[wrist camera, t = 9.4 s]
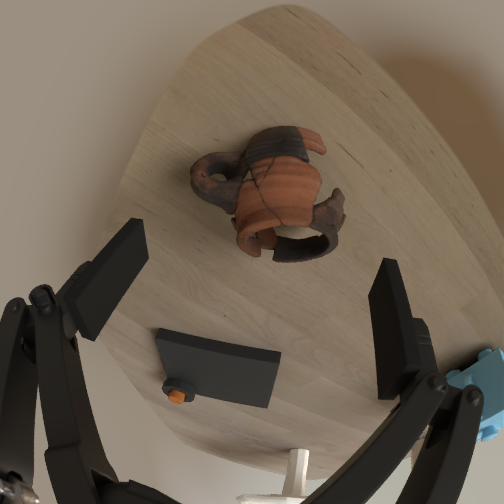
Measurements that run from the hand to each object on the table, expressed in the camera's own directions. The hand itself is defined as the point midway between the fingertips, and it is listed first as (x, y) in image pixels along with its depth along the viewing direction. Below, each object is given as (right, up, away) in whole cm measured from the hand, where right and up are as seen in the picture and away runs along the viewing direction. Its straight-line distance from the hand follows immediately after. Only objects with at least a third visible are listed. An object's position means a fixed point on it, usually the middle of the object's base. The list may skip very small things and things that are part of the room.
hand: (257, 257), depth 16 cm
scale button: (-13, -23, +29) cm, 40 cm away
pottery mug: (+2, +7, +9) cm, 11 cm away
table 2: (+12, -51, +49) cm, 71 cm away
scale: (-5, -18, +28) cm, 33 cm away
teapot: (+34, -20, +21) cm, 45 cm away
